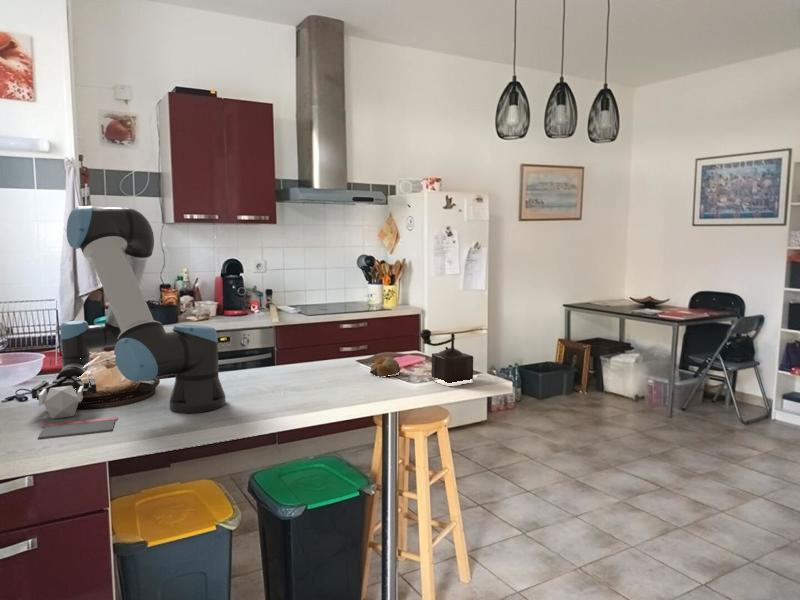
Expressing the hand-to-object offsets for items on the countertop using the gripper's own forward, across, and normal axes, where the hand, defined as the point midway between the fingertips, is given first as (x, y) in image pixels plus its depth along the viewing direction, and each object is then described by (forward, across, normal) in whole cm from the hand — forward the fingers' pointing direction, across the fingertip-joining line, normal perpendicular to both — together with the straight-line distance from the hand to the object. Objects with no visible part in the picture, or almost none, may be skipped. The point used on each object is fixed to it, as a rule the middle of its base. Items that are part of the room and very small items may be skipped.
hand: (60, 398), depth 151 cm
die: (-5, 0, -6) cm, 8 cm away
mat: (+9, -5, -6) cm, 12 cm away
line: (+3, -5, -6) cm, 8 cm away
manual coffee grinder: (0, -112, -6) cm, 112 cm away
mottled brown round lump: (-18, -97, -6) cm, 99 cm away
